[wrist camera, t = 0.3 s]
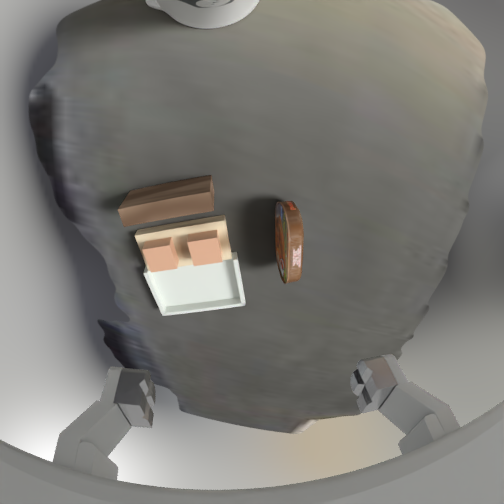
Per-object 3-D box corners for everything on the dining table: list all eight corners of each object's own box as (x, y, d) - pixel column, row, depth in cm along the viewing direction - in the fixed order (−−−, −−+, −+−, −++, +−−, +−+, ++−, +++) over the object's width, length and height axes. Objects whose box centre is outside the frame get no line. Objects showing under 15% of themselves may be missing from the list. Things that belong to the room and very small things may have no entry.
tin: (274, 193, 47) (284, 217, 40) (292, 192, 47) (306, 215, 40) (275, 264, 55) (283, 294, 49) (291, 262, 56) (301, 291, 49)
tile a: (188, 234, 47) (187, 242, 45) (217, 229, 47) (217, 237, 45) (194, 257, 50) (194, 266, 48) (222, 253, 50) (222, 262, 48)
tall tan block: (130, 190, 43) (117, 209, 38) (211, 174, 44) (209, 191, 38) (135, 206, 45) (123, 226, 39) (214, 191, 45) (213, 210, 40)
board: (137, 229, 48) (134, 235, 46) (224, 214, 48) (224, 220, 46) (150, 264, 52) (148, 271, 51) (231, 252, 53) (231, 258, 51)
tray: (145, 265, 52) (143, 273, 50) (236, 251, 53) (237, 259, 51) (163, 307, 59) (162, 315, 57) (244, 297, 60) (245, 305, 58)
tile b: (145, 241, 47) (142, 249, 45) (171, 236, 47) (169, 245, 45) (153, 263, 50) (151, 272, 48) (178, 260, 50) (177, 268, 48)
